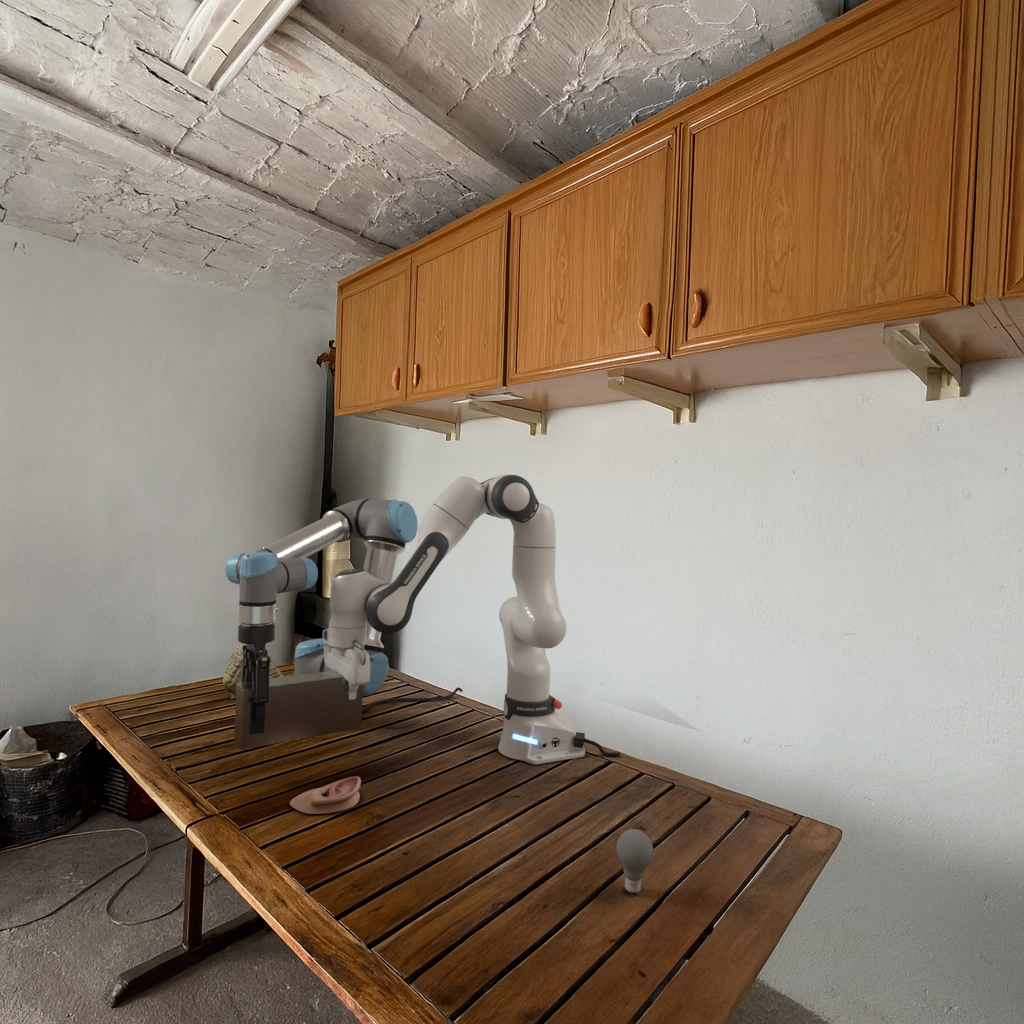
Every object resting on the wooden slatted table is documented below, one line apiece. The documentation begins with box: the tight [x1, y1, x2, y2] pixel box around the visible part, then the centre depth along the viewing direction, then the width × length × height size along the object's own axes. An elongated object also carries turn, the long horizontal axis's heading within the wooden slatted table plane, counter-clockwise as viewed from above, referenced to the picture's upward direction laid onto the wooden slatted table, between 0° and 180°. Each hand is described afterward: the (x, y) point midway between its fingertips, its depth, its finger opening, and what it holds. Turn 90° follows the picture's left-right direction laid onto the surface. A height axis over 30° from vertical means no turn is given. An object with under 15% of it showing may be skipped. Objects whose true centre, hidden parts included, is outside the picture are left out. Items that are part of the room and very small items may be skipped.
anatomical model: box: [289, 775, 362, 815], centre depth 131 cm, size 13×4×12 cm
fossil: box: [222, 646, 285, 699], centre depth 198 cm, size 9×18×15 cm, turn 132°
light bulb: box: [615, 828, 654, 894], centre depth 106 cm, size 6×6×10 cm
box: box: [234, 670, 364, 751], centre depth 145 cm, size 27×6×13 cm, turn 126°
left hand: (253, 727), depth 139 cm, fingers closed on box, 6 cm apart
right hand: (345, 694), depth 151 cm, fingers closed on box, 6 cm apart
